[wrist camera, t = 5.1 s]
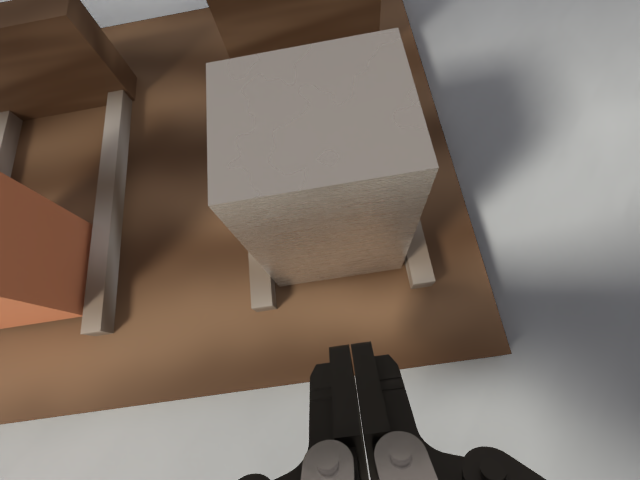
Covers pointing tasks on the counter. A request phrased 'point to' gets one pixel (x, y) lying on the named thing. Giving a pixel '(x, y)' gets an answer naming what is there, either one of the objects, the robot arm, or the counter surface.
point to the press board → (201, 218)
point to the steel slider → (319, 156)
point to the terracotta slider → (40, 258)
